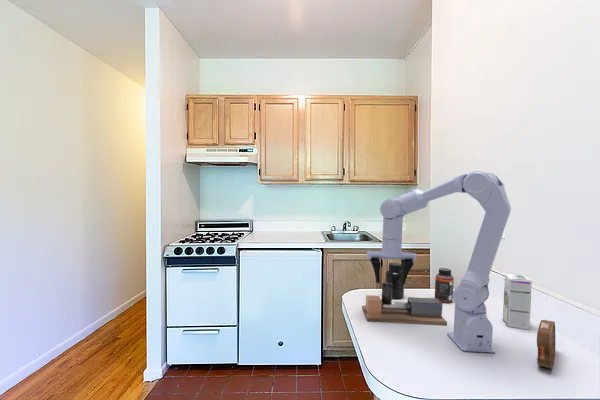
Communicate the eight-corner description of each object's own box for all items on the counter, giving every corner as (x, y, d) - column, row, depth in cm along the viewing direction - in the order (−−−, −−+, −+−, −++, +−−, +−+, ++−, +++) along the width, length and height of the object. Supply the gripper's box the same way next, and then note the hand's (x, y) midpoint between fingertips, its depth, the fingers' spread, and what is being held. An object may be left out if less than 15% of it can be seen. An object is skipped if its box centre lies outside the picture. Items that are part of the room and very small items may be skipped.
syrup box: (530, 330, 93) (533, 280, 93) (506, 326, 95) (509, 277, 95) (523, 322, 99) (526, 275, 98) (501, 319, 100) (504, 273, 100)
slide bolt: (417, 312, 98) (418, 286, 98) (373, 310, 99) (375, 284, 99) (414, 308, 101) (415, 283, 101) (372, 306, 102) (373, 281, 102)
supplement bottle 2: (455, 303, 113) (457, 271, 113) (438, 303, 113) (440, 271, 113) (448, 298, 119) (449, 267, 119) (431, 297, 119) (433, 266, 119)
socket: (380, 314, 98) (381, 300, 98) (367, 314, 98) (368, 299, 98) (378, 309, 103) (378, 295, 102) (365, 308, 103) (365, 295, 103)
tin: (551, 375, 70) (553, 337, 70) (533, 370, 72) (535, 332, 72) (556, 351, 82) (558, 317, 81) (540, 346, 84) (542, 314, 83)
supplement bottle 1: (380, 294, 121) (381, 262, 120) (394, 292, 124) (396, 261, 123) (393, 300, 114) (394, 266, 114) (407, 298, 117) (409, 265, 117)
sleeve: (441, 318, 97) (442, 303, 97) (411, 316, 98) (411, 302, 98) (436, 312, 102) (436, 298, 102) (407, 310, 102) (407, 297, 102)
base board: (446, 325, 95) (447, 321, 95) (367, 321, 96) (367, 317, 96) (434, 312, 105) (434, 309, 105) (362, 308, 106) (362, 305, 106)
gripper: (412, 237, 103) (410, 280, 103) (366, 235, 104) (364, 278, 104) (419, 241, 96) (417, 286, 96) (369, 239, 97) (368, 284, 97)
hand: (390, 282), depth 100 cm, fingers open, 7 cm apart
